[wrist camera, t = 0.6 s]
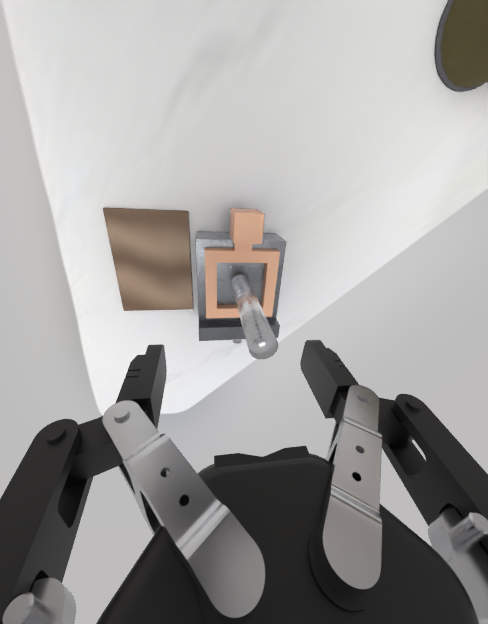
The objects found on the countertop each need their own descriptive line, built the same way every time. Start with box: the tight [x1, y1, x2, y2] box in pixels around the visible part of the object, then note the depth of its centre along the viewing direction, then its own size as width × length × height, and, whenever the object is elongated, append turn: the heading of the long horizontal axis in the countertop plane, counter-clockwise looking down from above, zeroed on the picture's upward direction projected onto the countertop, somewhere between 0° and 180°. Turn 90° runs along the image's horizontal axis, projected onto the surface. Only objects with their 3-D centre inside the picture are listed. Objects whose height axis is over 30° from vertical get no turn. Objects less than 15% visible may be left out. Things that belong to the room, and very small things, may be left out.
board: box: [103, 208, 193, 311], centre depth 33 cm, size 14×10×1 cm
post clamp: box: [196, 231, 286, 359], centre depth 29 cm, size 15×11×19 cm
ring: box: [205, 208, 280, 318], centre depth 29 cm, size 14×9×4 cm, turn 177°
